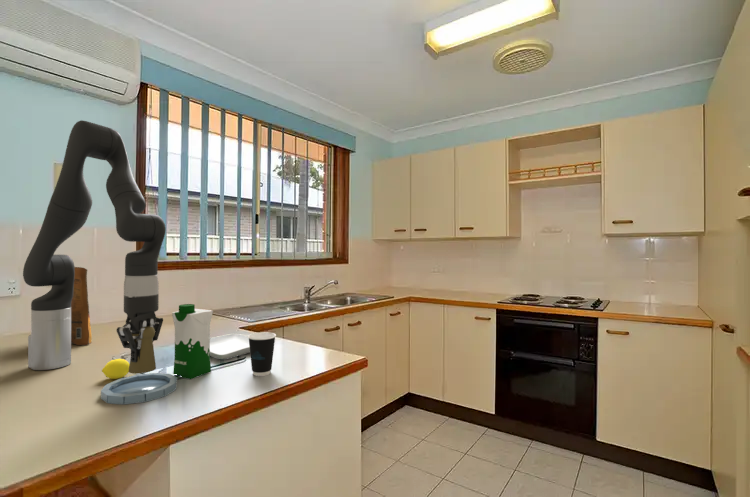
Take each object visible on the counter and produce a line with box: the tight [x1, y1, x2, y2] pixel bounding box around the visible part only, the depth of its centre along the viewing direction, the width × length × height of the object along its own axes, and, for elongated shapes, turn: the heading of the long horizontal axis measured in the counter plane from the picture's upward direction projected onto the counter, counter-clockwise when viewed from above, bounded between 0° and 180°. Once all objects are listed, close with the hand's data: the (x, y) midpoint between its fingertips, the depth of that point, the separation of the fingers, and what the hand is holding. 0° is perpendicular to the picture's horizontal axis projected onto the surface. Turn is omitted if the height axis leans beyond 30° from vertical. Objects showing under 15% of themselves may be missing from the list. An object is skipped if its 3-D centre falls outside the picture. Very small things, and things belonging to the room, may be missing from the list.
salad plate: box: [210, 333, 250, 360], centre depth 135 cm, size 21×21×3 cm
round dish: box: [100, 372, 178, 405], centre depth 98 cm, size 16×16×2 cm
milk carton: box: [171, 303, 214, 380], centre depth 111 cm, size 9×9×20 cm
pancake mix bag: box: [71, 266, 93, 346], centre depth 143 cm, size 7×19×28 cm, turn 56°
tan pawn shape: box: [128, 326, 157, 375], centre depth 98 cm, size 6×6×11 cm
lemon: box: [101, 358, 130, 380], centre depth 106 cm, size 7×5×5 cm
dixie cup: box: [247, 331, 277, 377], centre depth 112 cm, size 8×8×11 cm
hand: (141, 361), depth 98 cm, fingers closed on tan pawn shape, 2 cm apart
